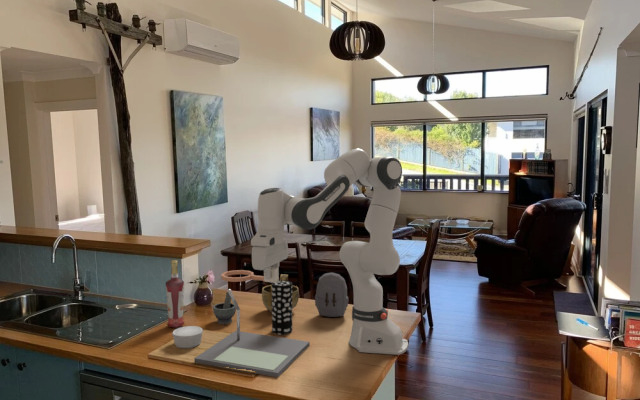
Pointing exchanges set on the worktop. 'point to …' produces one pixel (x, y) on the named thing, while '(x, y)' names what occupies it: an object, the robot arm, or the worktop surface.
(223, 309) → the mortar and pestle
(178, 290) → the liquor
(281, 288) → the white-spotted black cylinder
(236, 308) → the bent wire
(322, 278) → the grey rounded bag
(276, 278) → the ring wand
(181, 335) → the ramekin
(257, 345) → the wire board
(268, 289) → the olive round bowl
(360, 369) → the worktop surface
